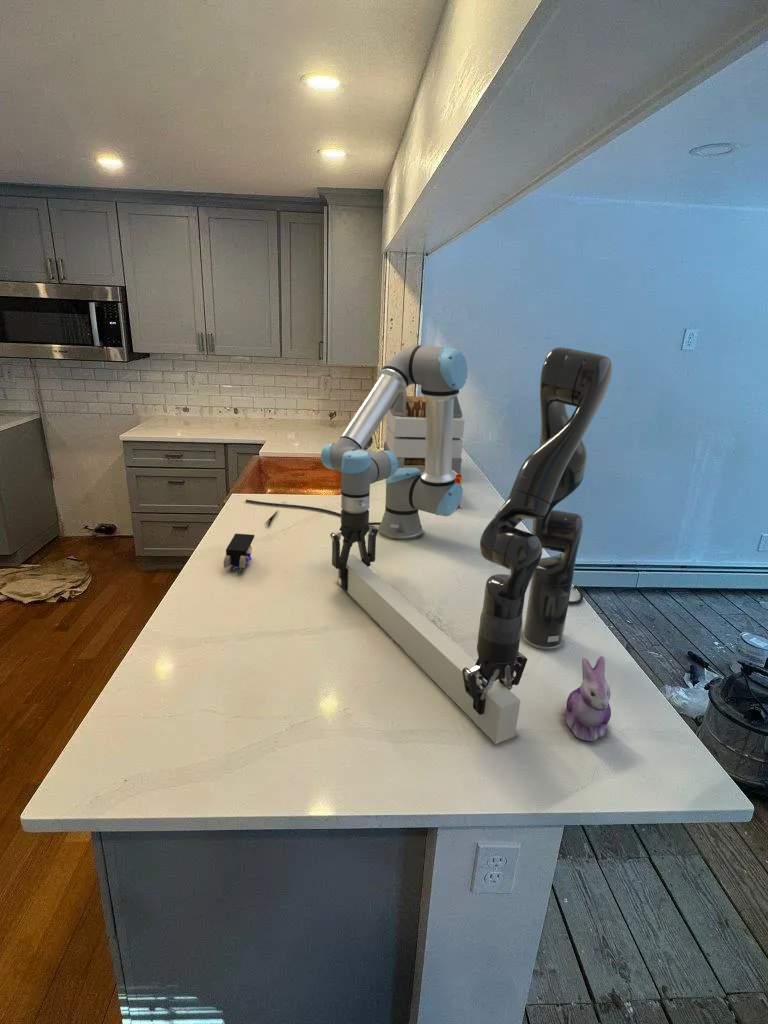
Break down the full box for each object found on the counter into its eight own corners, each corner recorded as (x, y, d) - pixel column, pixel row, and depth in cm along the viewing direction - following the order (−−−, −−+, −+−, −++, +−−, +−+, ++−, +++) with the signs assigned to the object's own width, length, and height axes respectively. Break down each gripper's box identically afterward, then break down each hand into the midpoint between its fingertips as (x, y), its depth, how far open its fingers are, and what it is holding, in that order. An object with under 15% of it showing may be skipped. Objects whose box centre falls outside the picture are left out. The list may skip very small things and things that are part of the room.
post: (337, 582, 163) (338, 556, 160) (352, 579, 165) (353, 553, 162) (495, 744, 105) (500, 707, 102) (515, 736, 107) (520, 700, 104)
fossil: (348, 441, 313) (370, 426, 308) (359, 455, 316) (380, 440, 311) (342, 455, 293) (365, 439, 288) (353, 469, 296) (376, 454, 291)
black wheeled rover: (246, 579, 165) (256, 553, 178) (245, 557, 161) (255, 532, 175) (223, 578, 165) (235, 552, 178) (221, 556, 161) (233, 531, 175)
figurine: (589, 751, 104) (604, 682, 99) (550, 716, 112) (561, 651, 107) (625, 735, 108) (641, 669, 103) (585, 703, 116) (597, 640, 111)
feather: (284, 505, 226) (287, 501, 226) (267, 528, 200) (269, 524, 199) (281, 503, 226) (283, 499, 225) (262, 526, 199) (265, 521, 199)
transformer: (382, 463, 289) (386, 382, 275) (445, 464, 293) (451, 384, 279) (390, 482, 257) (394, 392, 243) (460, 483, 261) (468, 394, 247)
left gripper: (330, 518, 144) (329, 599, 152) (391, 509, 152) (387, 586, 160) (318, 508, 150) (318, 587, 158) (377, 500, 158) (374, 575, 166)
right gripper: (481, 651, 97) (471, 731, 102) (543, 632, 103) (531, 709, 109) (455, 629, 103) (448, 707, 109) (516, 613, 109) (506, 686, 115)
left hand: (353, 586), depth 159 cm, fingers closed on post, 5 cm apart
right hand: (490, 707), depth 109 cm, fingers closed on post, 4 cm apart
